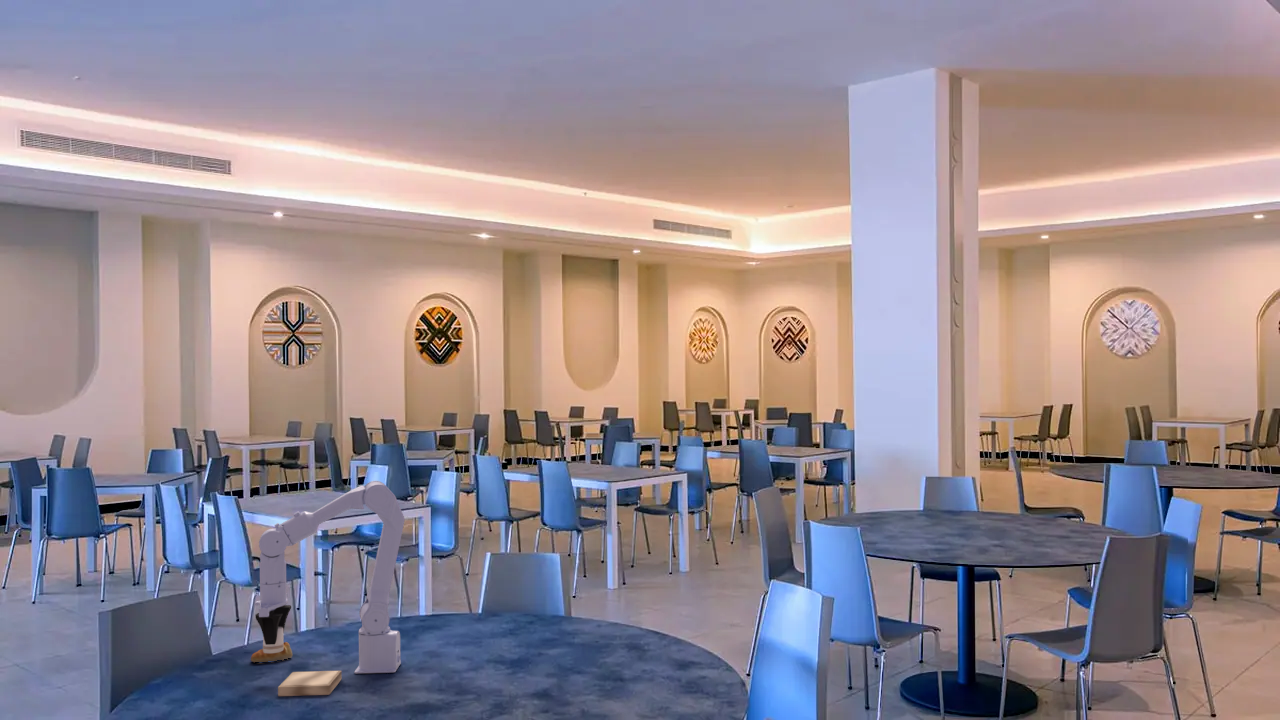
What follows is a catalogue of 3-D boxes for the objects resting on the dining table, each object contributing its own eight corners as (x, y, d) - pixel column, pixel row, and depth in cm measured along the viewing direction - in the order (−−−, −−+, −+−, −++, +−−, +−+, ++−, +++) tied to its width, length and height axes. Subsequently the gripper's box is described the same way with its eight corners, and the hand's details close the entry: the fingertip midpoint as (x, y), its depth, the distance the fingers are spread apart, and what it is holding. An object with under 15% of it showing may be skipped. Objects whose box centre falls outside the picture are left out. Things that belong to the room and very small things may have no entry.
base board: (341, 679, 232) (341, 670, 232) (329, 694, 221) (329, 685, 221) (292, 680, 232) (292, 671, 232) (278, 696, 221) (278, 686, 221)
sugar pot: (286, 647, 235) (286, 626, 235) (280, 653, 231) (280, 631, 231) (266, 648, 235) (266, 626, 235) (260, 653, 230) (260, 631, 230)
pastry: (257, 667, 244) (256, 651, 244) (246, 661, 249) (246, 646, 249) (294, 659, 250) (294, 643, 250) (283, 654, 255) (283, 638, 255)
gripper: (265, 575, 240) (266, 633, 240) (244, 589, 225) (245, 650, 225) (295, 575, 240) (296, 632, 240) (276, 588, 226) (277, 649, 226)
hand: (274, 641), depth 233 cm, fingers closed on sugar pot, 4 cm apart
